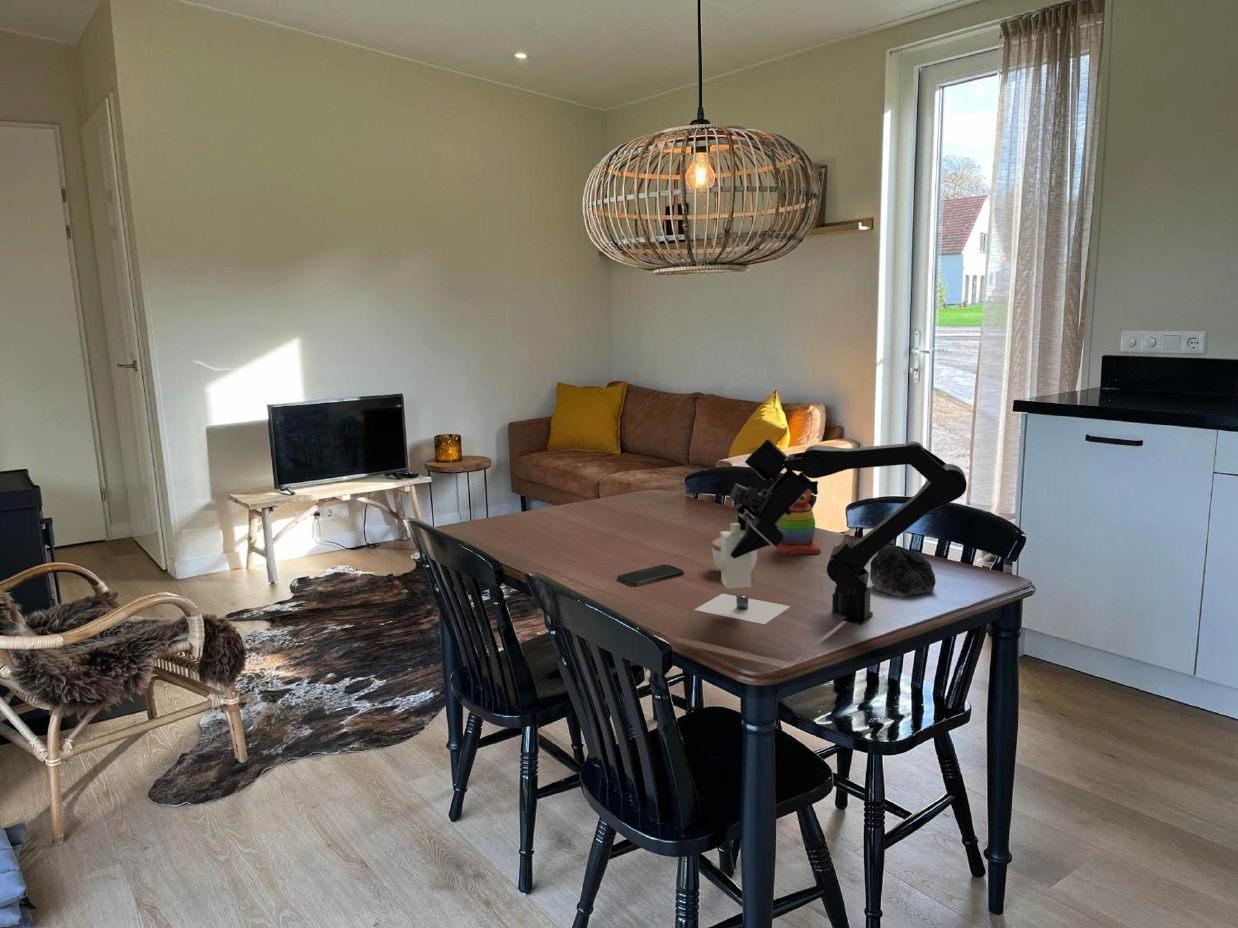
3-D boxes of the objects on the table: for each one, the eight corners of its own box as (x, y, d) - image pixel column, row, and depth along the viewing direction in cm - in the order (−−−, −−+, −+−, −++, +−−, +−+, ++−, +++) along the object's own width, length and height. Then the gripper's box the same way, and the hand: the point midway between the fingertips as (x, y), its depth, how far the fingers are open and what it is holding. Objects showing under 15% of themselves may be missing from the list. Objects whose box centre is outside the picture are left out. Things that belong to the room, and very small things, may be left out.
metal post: (750, 607, 178) (750, 595, 178) (744, 610, 176) (744, 599, 176) (739, 605, 179) (739, 593, 179) (734, 608, 178) (734, 597, 177)
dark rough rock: (943, 600, 184) (948, 555, 183) (880, 597, 184) (884, 551, 183) (921, 586, 197) (925, 543, 196) (862, 582, 197) (866, 539, 196)
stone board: (790, 610, 178) (790, 606, 178) (764, 628, 169) (764, 624, 168) (722, 597, 187) (722, 593, 187) (694, 614, 178) (694, 609, 178)
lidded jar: (703, 575, 204) (702, 536, 202) (728, 564, 212) (728, 527, 210) (741, 583, 197) (741, 543, 195) (766, 571, 205) (766, 533, 203)
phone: (686, 571, 205) (634, 583, 197) (686, 575, 205) (634, 588, 197) (666, 563, 211) (615, 575, 203) (666, 568, 212) (615, 580, 203)
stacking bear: (780, 555, 218) (780, 487, 215) (772, 545, 228) (772, 479, 225) (822, 554, 218) (823, 485, 215) (812, 543, 228) (813, 477, 225)
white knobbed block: (745, 579, 178) (744, 520, 176) (751, 586, 173) (750, 526, 171) (721, 581, 177) (720, 522, 175) (727, 588, 172) (725, 528, 170)
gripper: (742, 462, 181) (691, 517, 182) (766, 478, 162) (710, 539, 163) (779, 496, 183) (729, 550, 184) (807, 516, 164) (751, 576, 165)
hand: (729, 553), depth 174 cm, fingers closed on white knobbed block, 5 cm apart
